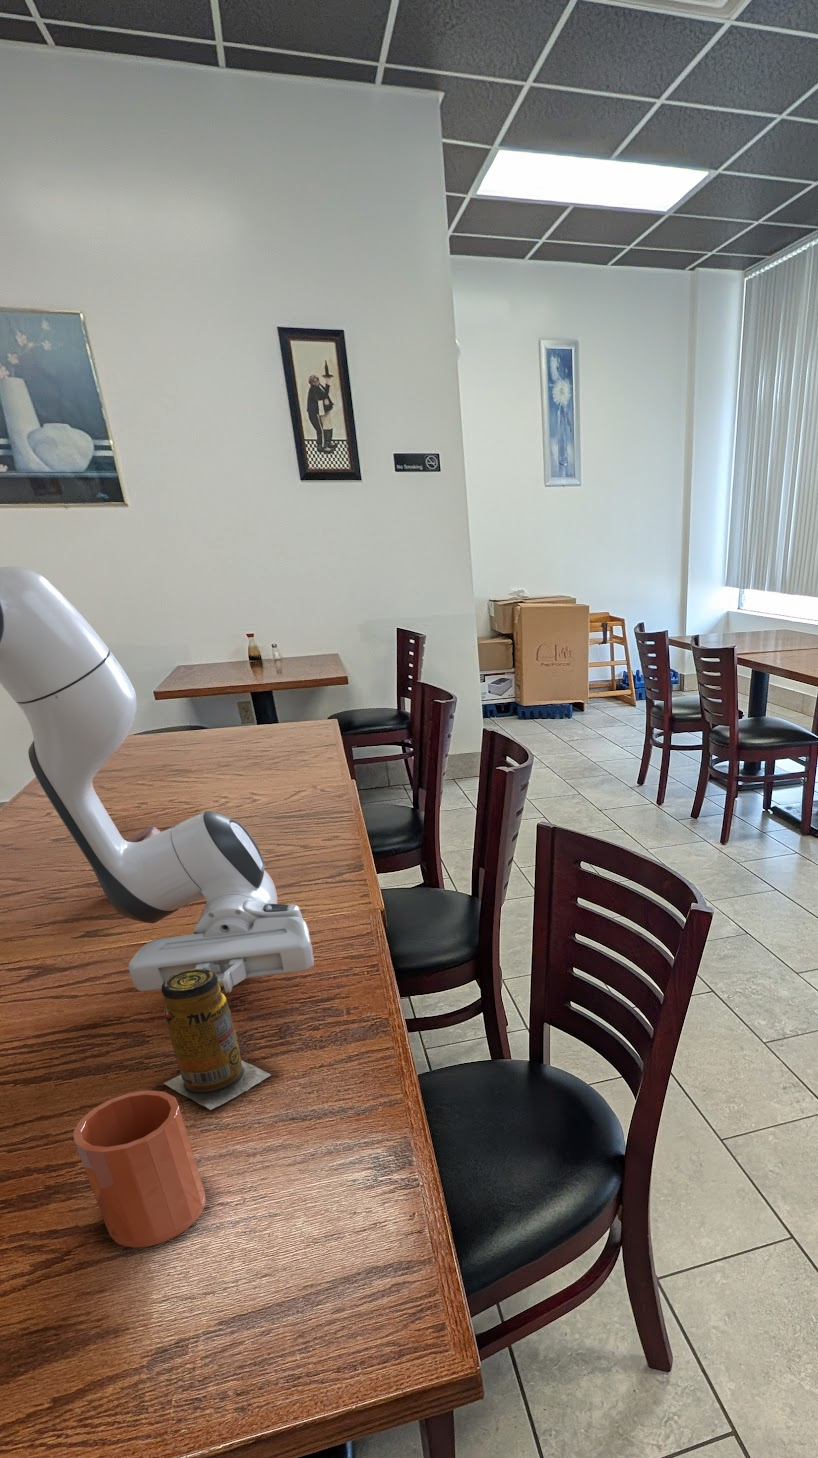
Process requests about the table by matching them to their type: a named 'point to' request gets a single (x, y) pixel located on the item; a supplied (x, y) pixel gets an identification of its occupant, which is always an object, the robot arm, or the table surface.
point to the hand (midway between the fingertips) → (215, 988)
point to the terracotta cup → (141, 1167)
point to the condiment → (205, 1040)
